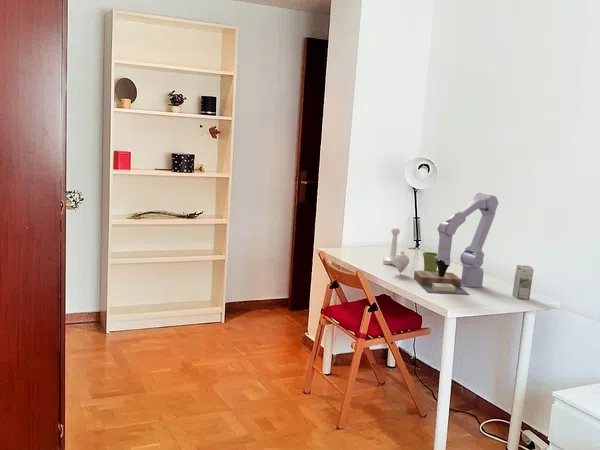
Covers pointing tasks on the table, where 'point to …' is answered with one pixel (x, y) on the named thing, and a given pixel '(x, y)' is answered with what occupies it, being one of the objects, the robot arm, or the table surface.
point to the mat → (457, 291)
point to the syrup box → (523, 282)
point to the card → (443, 287)
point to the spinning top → (401, 261)
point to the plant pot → (430, 261)
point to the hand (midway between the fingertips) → (441, 276)
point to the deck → (436, 278)
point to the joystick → (392, 247)
